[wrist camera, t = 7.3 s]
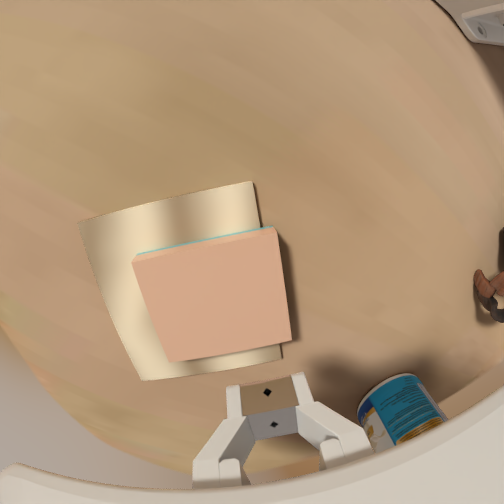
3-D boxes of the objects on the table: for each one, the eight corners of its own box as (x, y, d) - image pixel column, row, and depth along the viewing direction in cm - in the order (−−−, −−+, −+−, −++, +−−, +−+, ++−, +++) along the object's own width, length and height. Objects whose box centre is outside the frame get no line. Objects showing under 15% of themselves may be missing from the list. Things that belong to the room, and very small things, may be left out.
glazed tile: (276, 232, 17) (130, 262, 17) (291, 340, 20) (169, 362, 20) (272, 225, 19) (137, 253, 18) (287, 327, 21) (171, 349, 21)
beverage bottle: (429, 376, 27) (515, 493, 9) (384, 423, 29) (446, 542, 11) (390, 362, 25) (492, 517, 6) (339, 417, 27) (403, 567, 8)
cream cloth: (251, 180, 18) (252, 181, 18) (280, 355, 23) (281, 358, 22) (79, 221, 17) (77, 223, 17) (142, 377, 22) (142, 380, 22)
